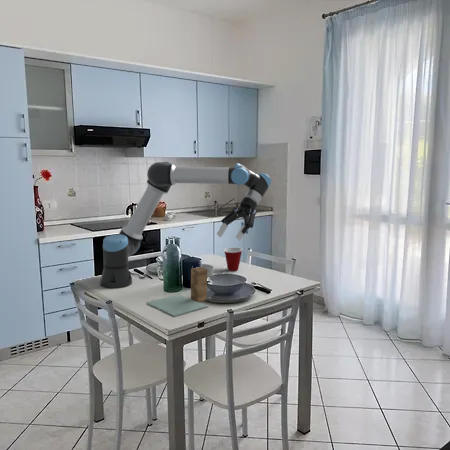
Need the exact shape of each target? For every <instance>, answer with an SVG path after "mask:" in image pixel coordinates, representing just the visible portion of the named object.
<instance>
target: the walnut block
mask: <svg viewBox="0 0 450 450" xmlns="http://www.w3.org/2000/svg"><path fill="white" fill-rule="evenodd" d="M207 291H208V282H207V269H206V268H202V267H196V268H193V267H192V268H190V299H192V300H194V301H197V302H199V303H201V302H204V301H207V300H206V299H208V292H207Z"/></svg>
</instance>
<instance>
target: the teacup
mask: <svg viewBox="0 0 450 450" xmlns="http://www.w3.org/2000/svg"><path fill="white" fill-rule="evenodd" d="M200 264H201V265H202V268H206V269H207V278H208V277H210V276H212V275H213V276H214V269H215V267H214V265H212V264H211V265H210V264H206V263H200Z"/></svg>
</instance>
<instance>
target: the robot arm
mask: <svg viewBox="0 0 450 450" xmlns="http://www.w3.org/2000/svg"><path fill="white" fill-rule="evenodd" d="M146 184H147V186H146V189H145V190H144V193H143V194H142V197H141V199H140V200H139V202H138V204H137V205H136V207H135V210H134V211H133V214H132V215H131V217H130V219H129V221H128V223H127V225H125V226H123V227H121V229H120V231H119V233H118V234H111V235H108V236H105V237H104V238H103V241H102V242H103V243H102V253H103V255H102V256H103V257H102V258H103V270H102V274H101V277H100V279H99V280H100V281H99V285H100V286H101V287H103V288H108V289H109V288H110V289H117V288H119V289H120V288H125V287H128V286H130V285H132V284H133V277H132V275H131V271H130V269H129V258H130V257H131V256H133V255H134V254H136V253H137V252H138V251H139V249H140V247H141V242H142V240H143V239H144V238H143V235H142V234H143V233H144V230H145V229H146V227H147V224H148V223H149V221H150V219H151V218H152V216H153V214H154V212H155V210H156V208H157V207H158V205H159V203H160V201H161V199H162V197H163V195H165V194H168V193H169V191H170V189H171V187H172V186H175V185H176V184H204V185H205V184H209V185H215V184H216V185H218V184H219V185H238V186H242V185H244V186H245V187H247V188H249V189H248V190H247V191H246V194H245V195H244V197H243V198H242V200H241V201H240V202H239V205H240V206H239V207H236V206H234V207H233V209H231V211H230V212H229V213H227V215H226V216H225V217H223V218H222V219H221V222H222V223H221V224H222V225H221V226H220V227H219V229H218V231H217V232H216V235H217V236H218V237H219V238H222V236H224V233H225V232H226V230H227V229H228V227H229V226H228V225H230V224H232V223H233V222H234V221H236V220H239V219H241V218H242V219H243V221H244V223H243V225H241V227H240V229H239V231H237V234H236V236H235V238H236V239H237V240H238V241H241V240H242V238H243V237H244V235H245V234H246V233H247V231H248V230H249V229H250V228H251V229H253V228H254V225H255V224H254V223H255V219H256V218H255V217H256V215H257V213H258V212H257V211H256V208H258V207H257V206H258V205H259V203H261V200H262V199H263V197H264V196H265V194H266V193H267V191H268V190H269V187H270V186H271V184H272V178H271V176H269V175H268V174H267V173H264V172H260V173H258V174H257V173H255V172H253V171H252V170H250V169H249V168H247V167H246V166H244V165H243V164H240V163H235V164H234V166H232V167H226V166H225V167H224V166H223V167H221V166H220V167H219V166H218V167H216V166H215V167H214V166H213V167H211V166H210V167H209V166H207V167H206V166H202V167H201V166H176V165H175V164H172V163H171V162H168V161H161V162H160V161H158V162H157V161H156V162H154V163H153V164H151V165H150V166H149V167H148V169H147V181H146Z"/></svg>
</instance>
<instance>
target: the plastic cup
mask: <svg viewBox="0 0 450 450" xmlns="http://www.w3.org/2000/svg"><path fill="white" fill-rule="evenodd" d="M223 252H224V255H225V261H226V265H227V266H226V267H227V270H228V271H229V272H236V271H239V268H240V267H239V266H240V263H241V256H242V252H243V248H242V247H234V246H233V247H226V248H224V249H223Z"/></svg>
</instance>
